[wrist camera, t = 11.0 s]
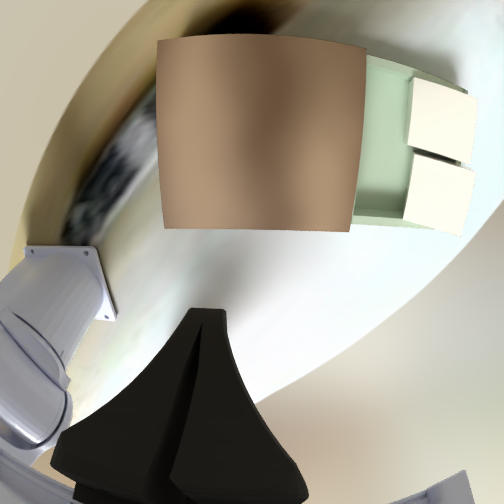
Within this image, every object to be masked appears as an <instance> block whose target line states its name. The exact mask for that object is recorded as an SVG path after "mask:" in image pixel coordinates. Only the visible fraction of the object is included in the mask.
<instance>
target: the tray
mask: <svg viewBox="0 0 504 504" xmlns="http://www.w3.org/2000/svg"><path fill="white" fill-rule="evenodd" d="M414 77H415V78H419V79H423V80H426V81H429V82H433V83H436V84H439V85H442V86H445V87H448V88H451V89H454V90H457V91H459V92H462V93H465V94H467V95H468V91H467V90H465V89H463V88H461V87H459V86H457V85H454V84H452V83H450V82H448V81H445V80H443V79H441V78H438V77H436V76H433V75H431V74H428V73H425V72H423V71H420V70H417V69H414V68H411V67H408V66H405V65H402V64H399V63H396V62H392V61H389V60H385V59H382V58H378V57H374V56H370V55H366V91H365V109H364V123H363V135H362V145H361V155H360V163H359V172H358V179H357V187H356V193H355V200H354V206H353V213H352V219H351V224H361V225H379V226H395V227H410V228H423V229H434V228H430V227H427V226H424V225H420V224H417V223H413V222H410V221H406V220H403V206H404V201H405V196H406V191H407V186H408V180H409V174H410V167H411V160H412V153H413V151H414V152H418V153H422V154H425V155H429V156H433V157H436V158H440V159H443V160H446V161H450V162H453V163H456V164H459V165H461V161H458V160H455V159H452V158H449V157H446V156H443V155H440V154H437V153H434V152H430V151H427V150H424V149H420V148H417V147H413V146H410V145H407V144H405V143H403V139H404V132H405V123H406V114H407V104H408V91H409V82H410V81H411V80H412V79H413V78H414ZM436 230H437V229H436Z"/></svg>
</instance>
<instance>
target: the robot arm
mask: <svg viewBox="0 0 504 504" xmlns="http://www.w3.org/2000/svg"><path fill="white" fill-rule="evenodd" d="M23 250H24V254H25V258H24V259H23V260H22V261H21V262H20V263H19V264H18V265H16V266H15V267H14V268H13V269H12V270H11V271H10V272H9V273H8V274H7V275H6V276H5V278H4V279H2V280H1V282H0V504H301V503H303V502H304V501H305V500H306V499H308V497H309V493H308V489H307V486H306V483H305V481H304V479H303V477H302V475H301V473H300V471H299V469H298V467H297V465H296V463H295V462H294V461H293V460H292V458H291V457H290V456H289V455H288V454H287V452H286V451H285V450H284V448H283V447H282V446H281V445H280V443H279V442H278V441H277V439H276V438H275V437H274V435H273V434H272V432H271V431H270V429H269V428H268V426H267V425H266V423H265V421H264V420H263V418H262V417H261V415H260V414H259V412H258V410H257V408H256V407H255V405H254V403H253V401H252V399H251V397H250V395H249V393H248V391H247V389H246V387H245V385H244V383H243V380H242V378H241V376H240V373H239V371H238V368H237V365H236V363H235V360H234V357H233V353H232V350H231V346H230V343H229V339H228V334H227V318H226V311H225V310H224V309H207V308H190V309H189V310H188V311H187V313H186V315H185V316H184V318H183V319H182V321H181V322H180V324H179V325H178V327H177V328H176V330H175V331H174V333H173V334H172V335H171V337H170V338H169V339H168V341H167V342H166V343H165V345H164V346H163V347H162V349H161V350H160V351H159V352H158V354H157V355H156V356H155V357H154V358H153V360H152V361H151V362H150V363H149V364H148V365H147V367H146V368H145V369H144V370H143V371H142V372H141V373H140V374H139V375H138V376H137V377H136V378H135V379H134V380H133V381H132V382H131V383H130V384H129V385H128V386H127V387H125V388H124V389H123V390H122V391H121V392H120V393H119V394H118V395H116V396H115V397H114V398H113V399H112V400H110V401H109V402H108V403H106V404H105V405H104V406H102V407H101V408H99V409H98V410H97V411H95V412H94V413H92V414H91V415H90V416H88V417H86V418H85V419H83V420H82V421H80V422H78V423H76V424H75V425H73V426H71V427H70V424H71V420H72V415H73V401H72V397H71V395H70V393H69V392H68V391H67V388H68V385H69V383H70V381H71V379H70V378H69V377H68V376H67V375H66V373H65V372H66V370H67V368H68V366H69V364H70V362H71V360H72V359H73V357H74V355H75V353H76V351H77V349H78V347H79V345H80V343H81V342H82V340H83V338H84V336H85V334H86V333H87V331H88V329H89V327H90V325H91V324H92V322H93V320H94V319H99V320H107V321H115V320H116V318H117V316H116V313H115V310H114V307H113V304H112V301H111V298H110V295H109V292H108V288H107V285H106V282H105V279H104V275H103V272H102V268H101V264H100V261H99V257H98V253H97V250H96V249H95V248H94V247H92V246H25V247H24V249H23ZM86 251H87V252H88V254H87V253H86ZM55 445H56V446H55ZM53 446H55V449H54V452H53V455H52V459H51V462H50V465H51V467H53V468H54V469H55V470H57V471H58V472H60V473H61V474H63V475H65V476H66V477H68V478H70V479H72V480H73V481H75V482H76V485H75V489H73V488H71V487H68V486H67V485H64V484H62V483H60V482H58V481H56V480H54V479H52V478H50V477H48V476H46V475H44V474H42V473H40V472H39V471H37V470H35V469H33V468H32V467H30V466H31V465H33V463H34V462H35V460H36V459H37V458H38V457H39V456H40V455H41V454H42V453H43V452H45V451H46V450H48V449H49V448H51V447H53ZM389 504H475V503H474V499H473V495H472V492H471V488H470V484H469V481H468V477H467V474H466V471H465V470H462V471H460V472H459V473H457V474H455V475H453V476H451V477H449V478H447V479H445V480H443V481H441V482H439V483H437V484H435V485H433V486H431V487H429V488H427V489H426V490H424V491H421V492H419V493H417V494H414V495H411V496H409V497H406V498H403V499H401V500H398V501H395V502H392V503H389Z"/></svg>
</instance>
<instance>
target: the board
mask: <svg viewBox="0 0 504 504" xmlns="http://www.w3.org/2000/svg"><path fill="white" fill-rule="evenodd" d="M365 91H366V49H365V48H361V47H356V46H352V45H347V44H342V43H337V42H331V41H325V40H318V39H311V38H303V37H294V36H282V35H266V34H217V35H201V36H190V37H181V38H173V39H165V40H159V41H158V43H157V68H156V117H157V145H158V163H159V177H160V189H161V200H162V210H163V219H164V228H165V229H259V230H300V231H330V232H349V230H350V224H351V219H352V213H353V206H354V200H355V193H356V187H357V179H358V172H359V163H360V155H361V145H362V135H363V123H364V109H365Z"/></svg>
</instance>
